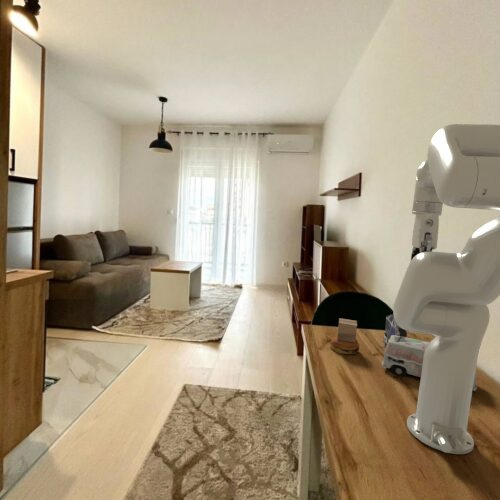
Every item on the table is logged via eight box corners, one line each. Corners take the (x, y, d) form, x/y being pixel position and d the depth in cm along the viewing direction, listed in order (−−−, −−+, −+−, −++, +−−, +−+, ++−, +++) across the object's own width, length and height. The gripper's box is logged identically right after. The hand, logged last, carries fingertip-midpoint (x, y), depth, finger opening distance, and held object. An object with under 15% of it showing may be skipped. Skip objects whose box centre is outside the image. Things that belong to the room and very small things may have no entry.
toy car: (476, 398, 89) (481, 363, 88) (380, 371, 101) (384, 340, 100) (472, 382, 98) (476, 350, 97) (384, 360, 110) (388, 331, 109)
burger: (325, 349, 116) (327, 336, 115) (337, 343, 122) (339, 331, 122) (351, 358, 109) (353, 345, 109) (363, 352, 116) (364, 339, 116)
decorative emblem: (403, 359, 112) (409, 316, 110) (396, 358, 112) (402, 316, 110) (388, 346, 123) (393, 307, 122) (382, 345, 123) (387, 307, 122)
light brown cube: (355, 342, 112) (357, 325, 111) (337, 339, 113) (339, 322, 113) (354, 337, 117) (356, 320, 117) (337, 334, 119) (339, 318, 118)
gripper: (450, 208, 84) (442, 273, 86) (433, 212, 101) (426, 266, 102) (419, 206, 86) (411, 270, 88) (407, 210, 103) (400, 263, 104)
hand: (419, 268), depth 95 cm, fingers open, 9 cm apart
